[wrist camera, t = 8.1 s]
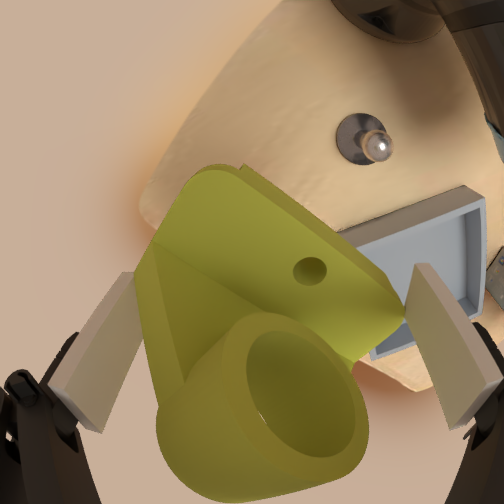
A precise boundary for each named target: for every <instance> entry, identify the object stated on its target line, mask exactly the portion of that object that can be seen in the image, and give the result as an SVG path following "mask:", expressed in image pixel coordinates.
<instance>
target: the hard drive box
mask: <svg viewBox="0 0 504 504" xmlns="http://www.w3.org/2000/svg"><path fill="white" fill-rule="evenodd" d="M485 288H486V289H487V290H488V291H489V293H490V294H491V295H492V296H493V298H494V299H495V300H496V302H497V303H498V304H499V305H500V307H501V308H502V309H503V311H504V248H502V250H501V251H500V253H499V254H498V256H497V257H496V259H495V260H494V262H493V263H492V265H491V266H490V267H489V269H488V270H487V272H486V279H485Z"/></svg>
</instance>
